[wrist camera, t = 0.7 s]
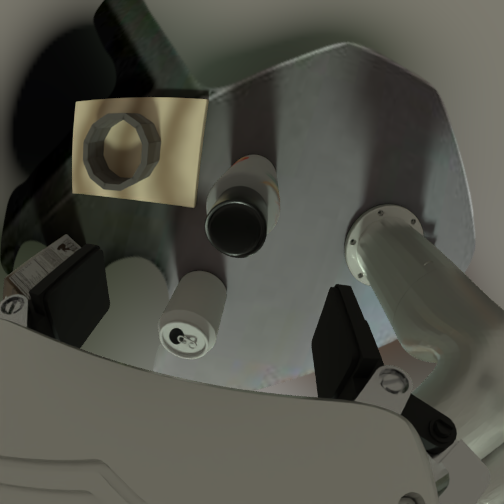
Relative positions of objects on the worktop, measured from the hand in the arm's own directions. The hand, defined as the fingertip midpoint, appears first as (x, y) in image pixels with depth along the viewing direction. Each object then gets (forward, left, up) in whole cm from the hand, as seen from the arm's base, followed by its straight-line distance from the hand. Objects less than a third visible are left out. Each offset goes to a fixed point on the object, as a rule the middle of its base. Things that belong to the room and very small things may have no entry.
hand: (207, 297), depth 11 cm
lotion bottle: (0, 0, -27) cm, 27 cm away
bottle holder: (+17, -2, -26) cm, 31 cm away
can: (+5, +18, -27) cm, 32 cm away
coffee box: (+30, +18, -27) cm, 44 cm away
